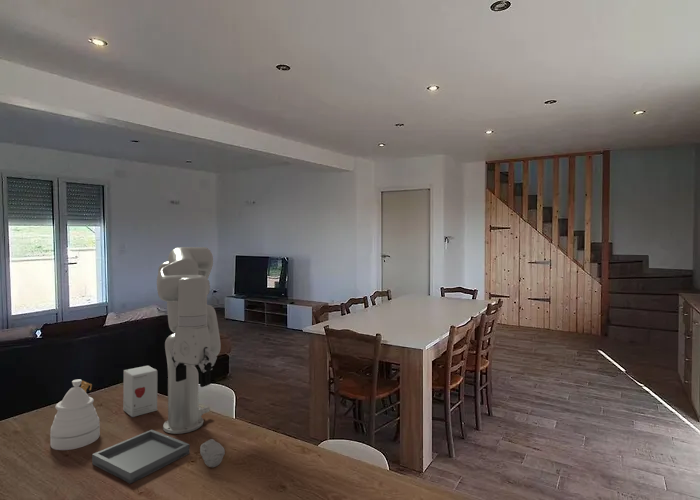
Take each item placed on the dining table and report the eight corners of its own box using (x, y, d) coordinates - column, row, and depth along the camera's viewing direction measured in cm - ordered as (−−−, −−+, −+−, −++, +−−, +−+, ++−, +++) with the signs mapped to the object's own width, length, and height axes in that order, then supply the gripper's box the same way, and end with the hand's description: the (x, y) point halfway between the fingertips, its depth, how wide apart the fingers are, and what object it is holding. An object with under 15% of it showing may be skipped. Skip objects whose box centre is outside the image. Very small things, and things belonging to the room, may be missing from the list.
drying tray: (151, 438, 133) (151, 429, 133) (189, 453, 123) (189, 444, 123) (92, 464, 117) (92, 454, 117) (130, 483, 108) (130, 473, 108)
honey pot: (57, 434, 135) (57, 378, 134) (103, 428, 139) (103, 374, 139) (44, 453, 123) (43, 392, 122) (95, 446, 127) (94, 387, 127)
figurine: (82, 408, 155) (82, 376, 155) (97, 409, 154) (97, 377, 154) (63, 418, 147) (63, 383, 146) (79, 419, 146) (78, 385, 145)
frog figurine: (207, 458, 121) (208, 434, 120) (229, 462, 119) (229, 437, 119) (194, 469, 115) (195, 444, 115) (217, 473, 113) (217, 447, 113)
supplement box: (131, 418, 147) (131, 375, 147) (122, 410, 154) (122, 369, 153) (158, 410, 154) (158, 369, 154) (148, 403, 160) (148, 364, 160)
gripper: (160, 321, 118) (160, 382, 118) (204, 326, 110) (204, 391, 109) (182, 317, 124) (183, 375, 124) (225, 321, 116) (225, 383, 116)
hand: (193, 383), depth 117 cm, fingers open, 9 cm apart
